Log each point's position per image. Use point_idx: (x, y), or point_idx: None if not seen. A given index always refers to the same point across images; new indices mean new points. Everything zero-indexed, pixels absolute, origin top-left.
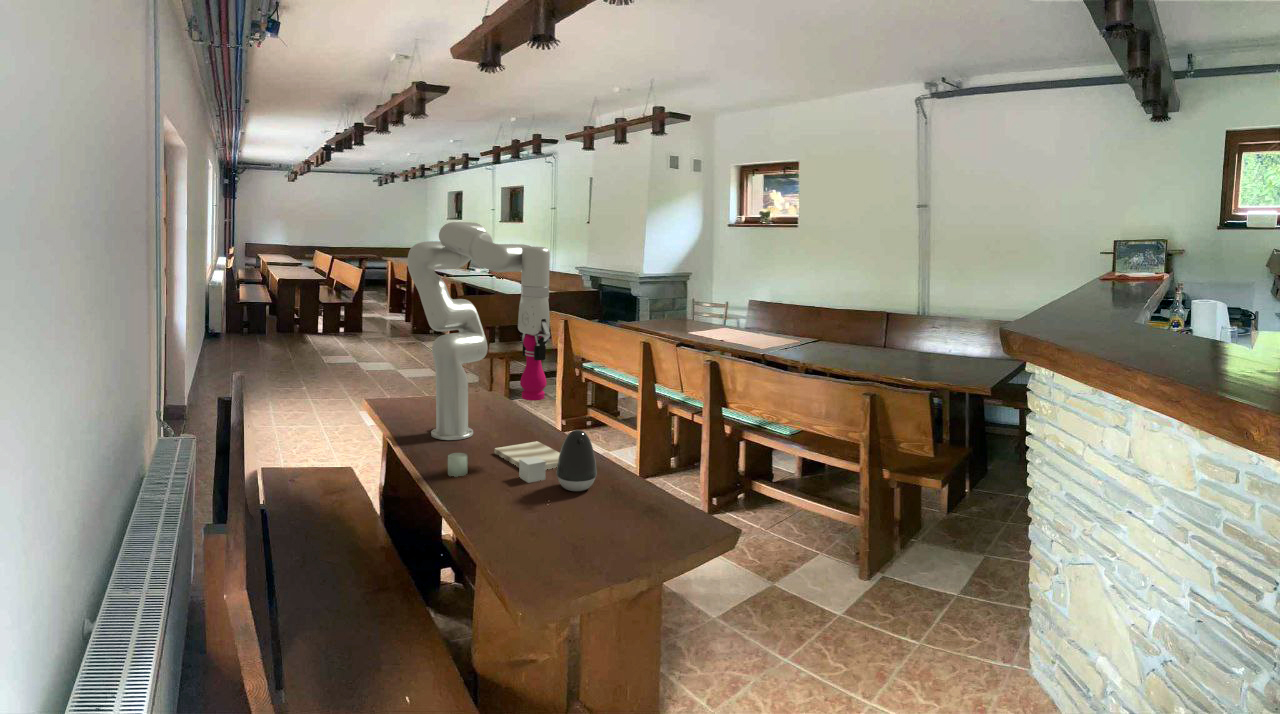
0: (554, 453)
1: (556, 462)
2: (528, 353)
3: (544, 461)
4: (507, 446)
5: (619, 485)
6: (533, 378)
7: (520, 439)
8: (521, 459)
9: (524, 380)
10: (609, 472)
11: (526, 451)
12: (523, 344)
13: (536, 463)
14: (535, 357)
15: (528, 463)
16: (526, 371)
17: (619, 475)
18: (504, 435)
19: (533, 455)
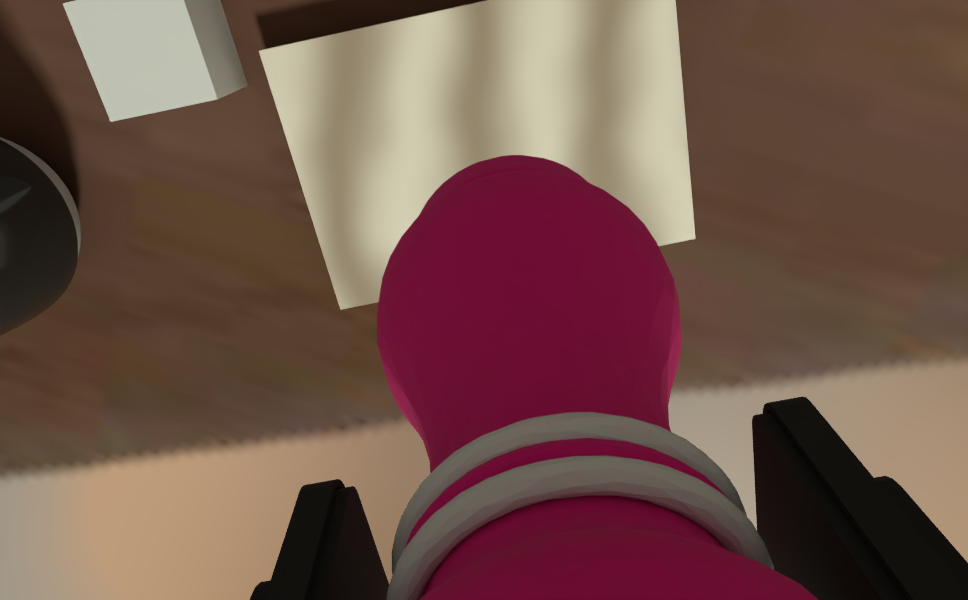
0: None
1: (313, 221)
2: (482, 478)
3: (113, 115)
4: (673, 49)
5: (30, 386)
6: (389, 317)
7: (839, 181)
8: None
9: (459, 212)
10: (204, 405)
11: (543, 128)
12: (893, 571)
13: (87, 60)
14: (296, 519)
15: (86, 10)
16: (491, 286)
17: (158, 428)
18: (957, 116)
19: (460, 143)
